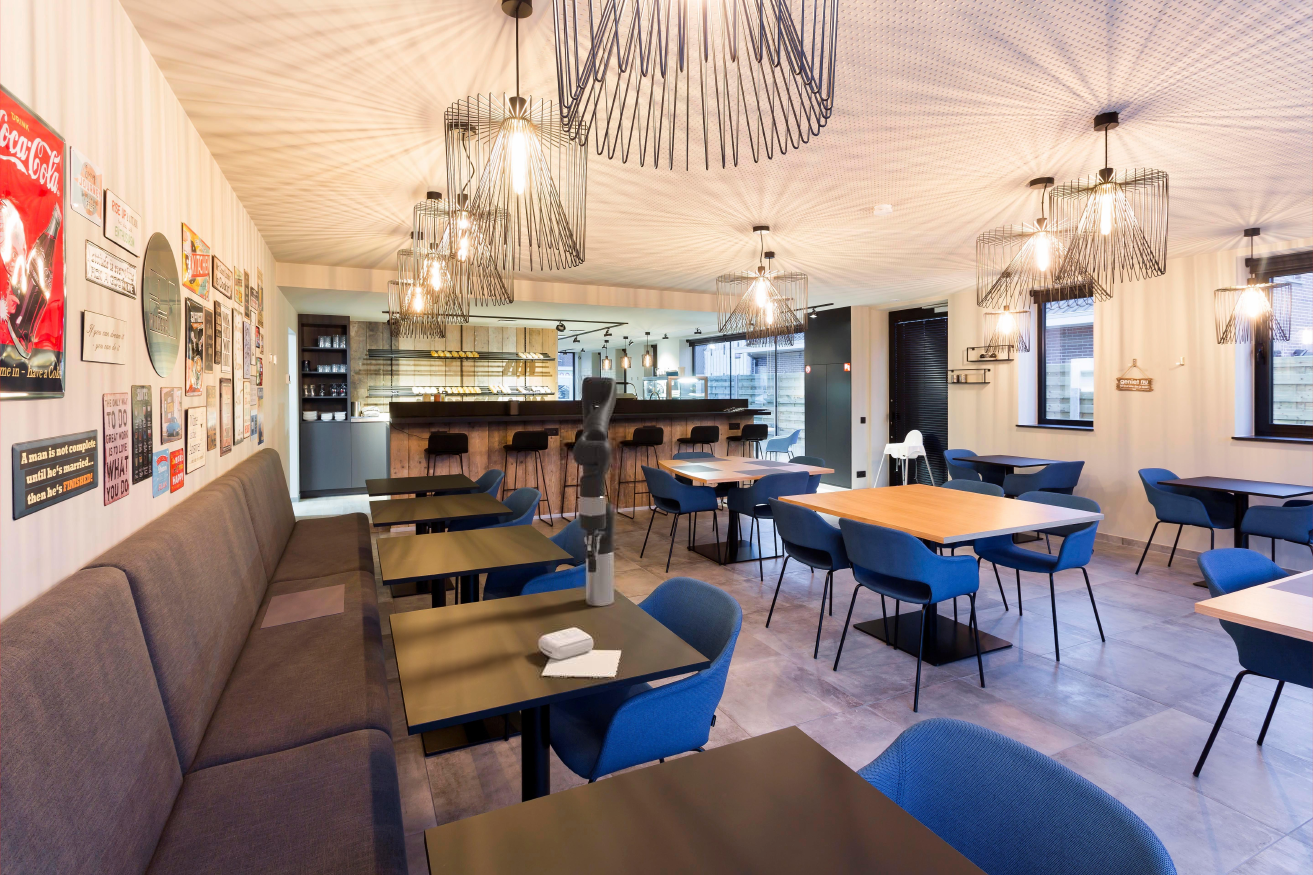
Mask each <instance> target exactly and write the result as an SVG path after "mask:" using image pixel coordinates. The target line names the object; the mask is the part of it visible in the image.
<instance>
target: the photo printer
mask: <svg viewBox="0 0 1313 875" xmlns="http://www.w3.org/2000/svg"><path fill="white" fill-rule="evenodd" d="M538 648H539V650H541V652H542V653H543V654H544V655H546V656H547V657H549V658H550V657H551V658H554V659H564V658H567V657H571V656H574V655H577V654H581V653H584V652H587V651H590V650H593V648H594V639H593V637H592V636H591V634H588V633H587V632H585V631H583V630H581V629H579V628H577V627H569V628H567V629H566V628H565V629H563V630H558V631H555V632H550V633H547V634H544V635H542V636H540V638H538Z"/></svg>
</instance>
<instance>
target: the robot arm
mask: <svg viewBox="0 0 1313 875" xmlns="http://www.w3.org/2000/svg"><path fill="white" fill-rule="evenodd" d="M581 384H582V385H581V406H582V422H583V423H582V428H583V430H582V431H583V432H582V434H581V435H580V437H579V438H578V439H577V440H576V442H575V444H574V446H573V450H572V458H573V460H574V462H575V464H577V465H578V466H580V467H581V466H582V475H581V476H580V477H579V501H578V528H579V529H581V530H583V531H585V535H584V543H585V544H584V552H585V562H586V563H585V569H586V570H585V575H586V576H585V578H586V579H585V581H586V582H585V591H586V592H585V599H586V600H585V601H586V604H587V605H590V606H593V607H595V606H596V607H604V606H610V605H611V604H613V603H614V602H615V600H614V599H615V598H614V597H615V593H614V592H615V584H614V583H615V578H614V577H615V576H614V573H615V572H614V571H615V570H614V568H615V562H614V560H615V556H614V555H615V554H614V551H615V550H614V549H615V547H614V543H615V542H614V538H615V537H614V536H615V534H614V533H615V532H614V531H615V519H616V518H615V515H616V514H615V507H614V505H613V504H612V503H611V502H609V503H608V502H606V495H605V494H606V488H605V487H606V477H607V474H608V472H609V471H610V467H611V465H612V446H611V443H610V441H609V439H608V431H609V430H608V429H609V424H610V421H611V420H610V419H611V416H612V415H613V412H614V408H615V406H616V401H617V396H618V386H617V381H616V380H615V378H613V377H608V376H607V377H604V376H600V377H599V376H586V377H584V378H583V380H582V383H581ZM593 407H596V408H595V409H594V408H593ZM599 532H602V533H603V534H601V533H599Z"/></svg>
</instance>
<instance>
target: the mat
mask: <svg viewBox="0 0 1313 875" xmlns="http://www.w3.org/2000/svg"><path fill="white" fill-rule="evenodd" d="M621 653H622V650H621V649H620V650H615V649H614V650H613V649H610V650H609V649H607V650H606V649H604V650H603V649H592V650H590V651H587V652H584V653H581V654H577V655H574V656H571V657H567V658H564V659H554V658H551V657H549V659H548V661H547V663H546V666H545V667H544V669H543V671H542V673H541V677H542V676H551V677H550V678H567V677H572V676H574V677H590V678H589V679H603V678H602V677H615V675H616V676H617V672H618V668H617V667H619V664H620V660H619V659H621V655H622V654H621ZM618 663H619V664H618ZM616 671H617V672H616ZM552 676H553V677H552ZM560 676H562V677H560ZM563 676H564V677H563ZM591 677H593V678H591ZM598 677H599V678H598ZM615 678H616V677H615Z"/></svg>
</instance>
